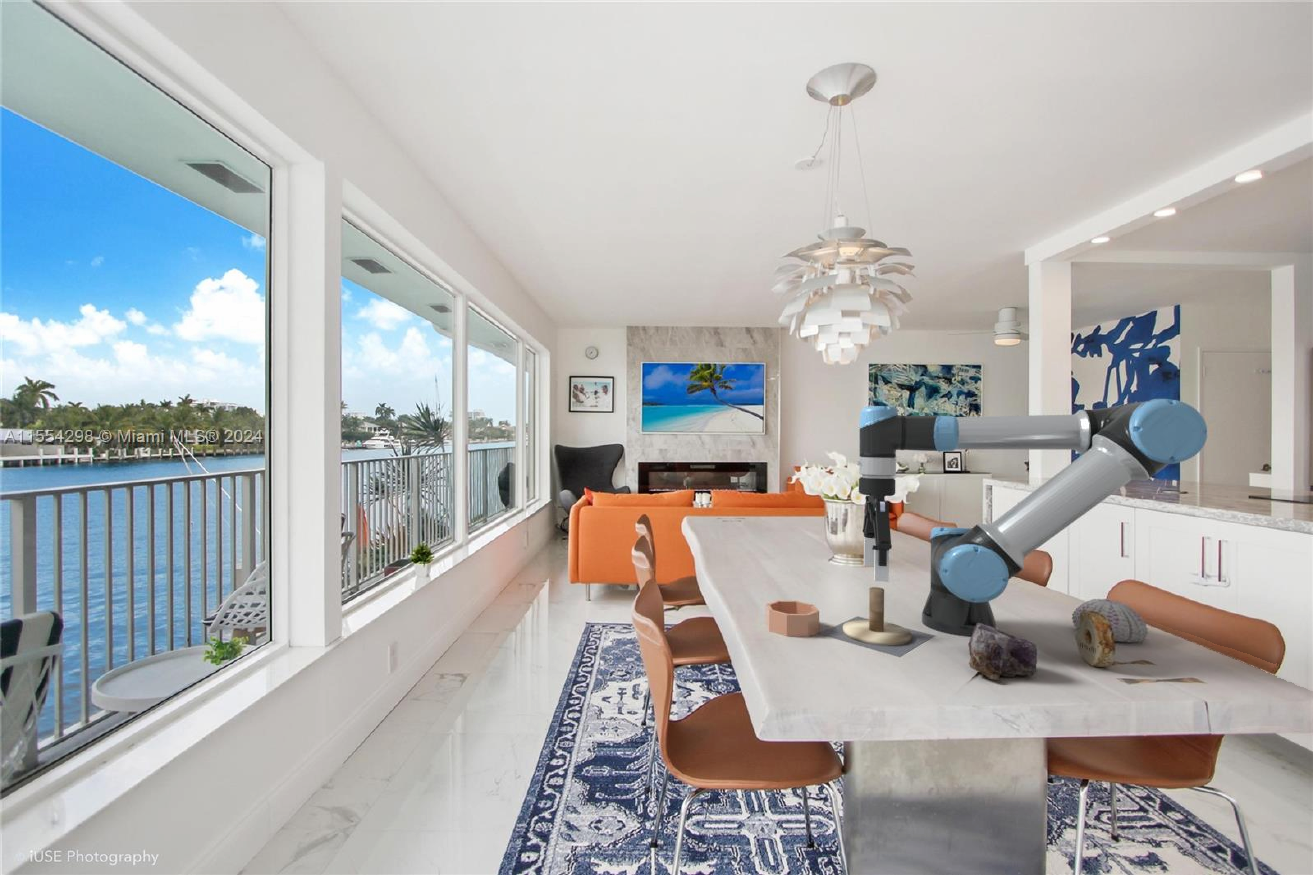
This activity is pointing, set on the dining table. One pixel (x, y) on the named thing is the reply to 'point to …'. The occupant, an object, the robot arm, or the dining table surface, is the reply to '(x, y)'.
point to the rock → (1001, 653)
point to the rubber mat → (898, 651)
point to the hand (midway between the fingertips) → (875, 573)
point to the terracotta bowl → (792, 618)
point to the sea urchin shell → (1116, 619)
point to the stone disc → (1095, 639)
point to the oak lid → (876, 625)
